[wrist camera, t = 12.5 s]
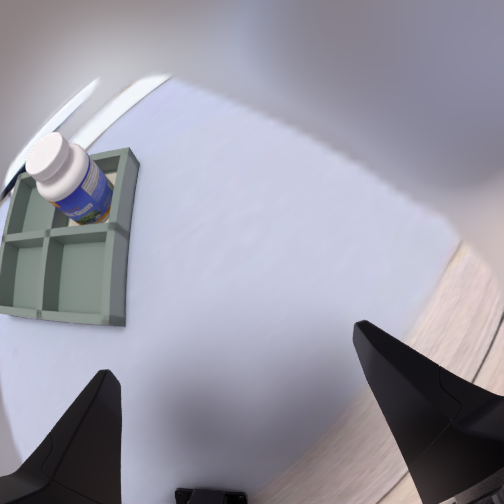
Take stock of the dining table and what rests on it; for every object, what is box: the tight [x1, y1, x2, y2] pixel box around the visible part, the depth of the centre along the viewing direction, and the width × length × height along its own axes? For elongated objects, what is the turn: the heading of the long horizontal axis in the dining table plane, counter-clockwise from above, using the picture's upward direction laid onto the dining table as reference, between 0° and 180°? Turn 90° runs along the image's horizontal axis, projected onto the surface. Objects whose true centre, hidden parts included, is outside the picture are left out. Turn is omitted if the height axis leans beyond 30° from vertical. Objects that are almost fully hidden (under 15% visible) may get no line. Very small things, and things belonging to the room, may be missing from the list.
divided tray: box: [0, 147, 140, 327], centre depth 24 cm, size 16×16×3 cm
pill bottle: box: [26, 132, 114, 225], centre depth 21 cm, size 5×5×10 cm
